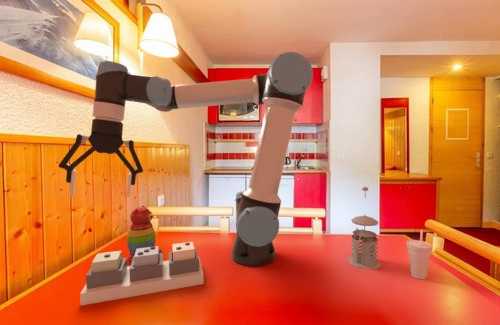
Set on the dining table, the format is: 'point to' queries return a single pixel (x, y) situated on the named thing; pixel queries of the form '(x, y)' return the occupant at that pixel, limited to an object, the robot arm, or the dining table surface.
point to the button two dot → (183, 251)
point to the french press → (364, 243)
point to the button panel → (141, 279)
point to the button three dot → (146, 256)
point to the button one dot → (107, 261)
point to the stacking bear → (140, 231)
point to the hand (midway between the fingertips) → (101, 195)
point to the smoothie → (419, 257)
